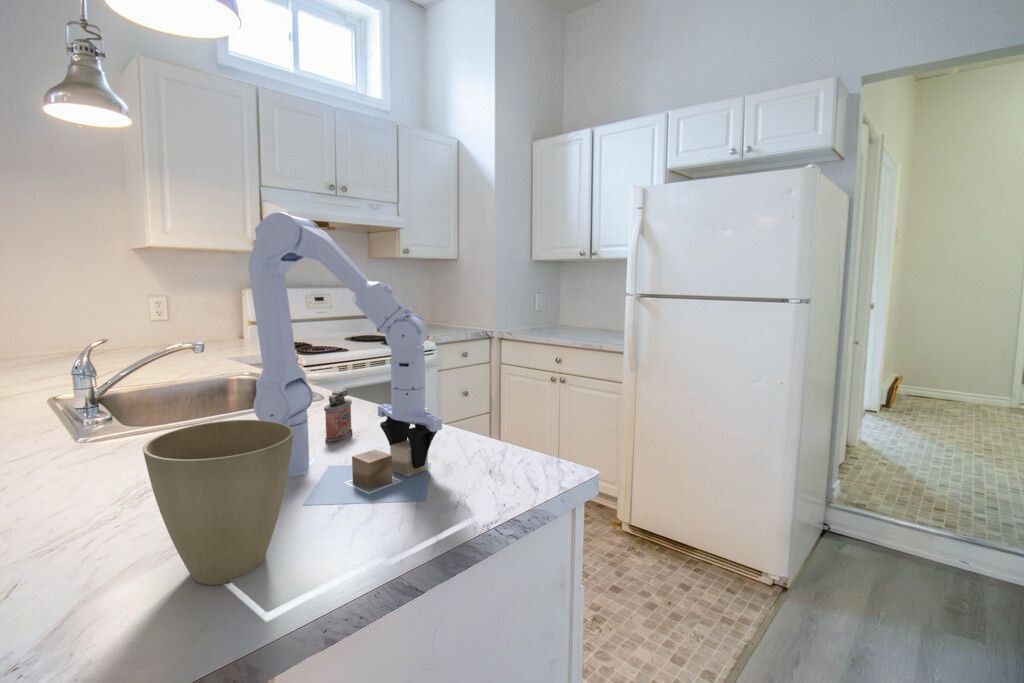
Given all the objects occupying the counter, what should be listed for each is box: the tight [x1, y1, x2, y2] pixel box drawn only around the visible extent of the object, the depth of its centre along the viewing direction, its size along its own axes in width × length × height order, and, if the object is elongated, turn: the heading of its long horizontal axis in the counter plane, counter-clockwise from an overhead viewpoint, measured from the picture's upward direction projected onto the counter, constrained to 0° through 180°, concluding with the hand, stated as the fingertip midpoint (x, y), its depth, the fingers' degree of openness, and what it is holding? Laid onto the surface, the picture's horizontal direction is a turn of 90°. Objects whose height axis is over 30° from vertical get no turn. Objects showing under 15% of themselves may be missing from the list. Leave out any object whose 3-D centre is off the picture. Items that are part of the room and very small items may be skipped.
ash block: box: [389, 439, 429, 477], centre depth 90 cm, size 4×4×4 cm
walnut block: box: [351, 449, 392, 490], centre depth 85 cm, size 4×4×4 cm
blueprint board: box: [302, 462, 432, 507], centre depth 85 cm, size 18×16×1 cm
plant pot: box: [142, 419, 293, 586], centre depth 60 cm, size 15×15×16 cm
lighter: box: [323, 388, 353, 445], centre depth 109 cm, size 8×3×10 cm, turn 168°
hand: (409, 463), depth 90 cm, fingers closed on ash block, 4 cm apart
